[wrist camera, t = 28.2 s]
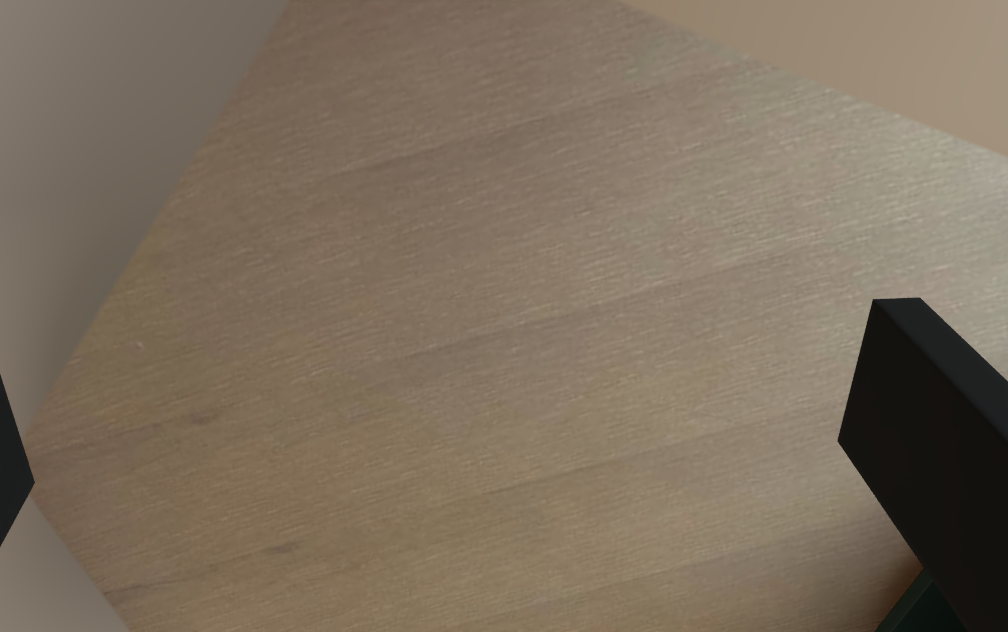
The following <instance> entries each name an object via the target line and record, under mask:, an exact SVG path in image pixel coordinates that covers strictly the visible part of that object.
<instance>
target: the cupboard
mask: <svg viewBox="0 0 1008 632" xmlns="http://www.w3.org/2000/svg"><path fill="white" fill-rule="evenodd" d="M875 632H967V630H966V629H965V627H964V626H963V624H962V623H961V621H960V620H959V618H958V617H957V615H956V614H955V612H954V611H953V610H952V608H951V607H950V605H949V604H948V602H947V601H946V599H945V598H944V596H943V595H942V593H941V592H940V591H939V589H938V588H937V586H936V585H935V583H934V582H933V580H932V579H931V577H930V576H929V574H928V573H927V571H926V570H925V569H924V570H923V571H922V572H921V574H920V575H919V576H918V578H917V579H916V580H915V581H914V583H913V584H912V585H911V587H910V588H909V589H908V590H907V592H906V593H905V594H904V596H903V597H902V598H901V599H900V601H899V602H898V603H897V604H896V606H895V607H894V608H893V610H892V611H891V612H890V613H889V615H888V616H887V617H886V619H885V620H884V621H883V622H882V624H881V625H880V626H879V628H878V629H877V630H876V631H875Z"/></svg>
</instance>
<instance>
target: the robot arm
mask: <svg viewBox="0 0 1008 632" xmlns="http://www.w3.org/2000/svg"><path fill="white" fill-rule="evenodd" d="M838 442H839V444H840V445H841V447H842V448H843V450H844V451H845V453H846V454H847V456H848V457H849V459H850V460H851V462H852V463H853V464H854V466H855V467H856V469H857V470H858V472H859V473H860V475H861V476H862V478H863V479H864V481H865V482H866V484H867V485H868V486H869V488H870V489H871V491H872V492H873V494H874V495H875V497H876V498H877V500H878V501H879V503H880V504H881V506H882V507H883V508H884V510H885V511H886V513H887V514H888V516H889V517H890V519H891V520H892V522H893V523H894V525H895V526H896V527H897V529H898V530H899V532H900V533H901V535H902V536H903V538H904V539H905V541H906V542H907V544H908V545H909V547H910V548H911V549H912V551H913V552H914V554H915V555H916V557H917V558H918V560H919V561H920V563H921V564H922V566H923V567H924V569H925V570H926V571H927V573H928V574H929V576H930V577H931V579H932V580H933V582H934V583H935V585H936V586H937V588H938V589H939V591H940V592H941V593H942V595H943V596H944V598H945V599H946V601H947V602H948V604H949V605H950V607H951V608H952V610H953V611H954V612H955V614H956V615H957V617H958V618H959V620H960V621H961V623H962V624H963V626H964V627H965V629H966V630H967V632H1008V381H1007V380H1006V379H1005V378H1004V377H1003V376H1002V375H1000V374H999V373H998V372H997V371H996V370H995V369H994V368H993V367H992V366H991V365H990V364H989V363H988V362H987V361H986V360H985V359H984V358H983V357H982V356H981V355H980V354H978V353H977V352H976V351H975V350H974V349H973V348H972V347H971V346H970V345H969V344H968V343H967V342H966V341H965V340H964V339H963V338H962V337H961V336H960V335H959V334H958V333H956V332H955V331H954V330H953V329H952V328H951V327H950V326H949V325H948V324H947V323H946V322H945V321H944V320H943V319H942V318H941V317H940V316H939V315H938V314H937V313H936V312H934V311H933V310H932V309H931V308H930V307H929V306H928V305H927V304H926V303H925V302H924V301H923V300H922V299H921V298H896V299H873V301H872V305H871V309H870V313H869V317H868V321H867V325H866V329H865V333H864V337H863V341H862V345H861V349H860V353H859V357H858V361H857V365H856V369H855V373H854V377H853V381H852V385H851V389H850V393H849V397H848V401H847V405H846V409H845V413H844V417H843V421H842V425H841V429H840V433H839V437H838ZM34 483H35V481H34V478H33V475H32V472H31V469H30V466H29V463H28V460H27V456H26V453H25V450H24V447H23V444H22V441H21V438H20V435H19V432H18V428H17V425H16V422H15V419H14V416H13V413H12V410H11V407H10V403H9V400H8V397H7V394H6V391H5V388H4V385H3V382H2V378H1V375H0V546H1V544H2V543H3V541H4V539H5V537H6V535H7V533H8V531H9V530H10V528H11V526H12V524H13V522H14V520H15V518H16V517H17V515H18V513H19V511H20V509H21V507H22V505H23V504H24V502H25V500H26V498H27V496H28V495H29V493H30V491H31V489H32V487H33V485H34Z"/></svg>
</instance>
